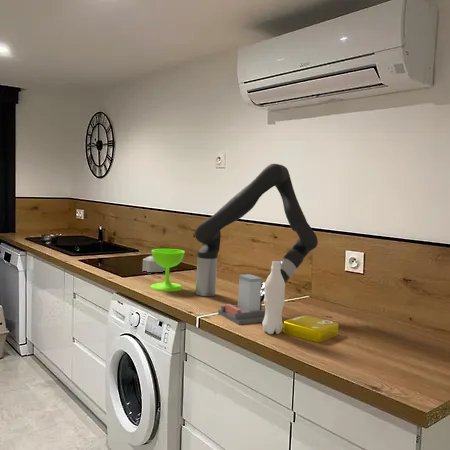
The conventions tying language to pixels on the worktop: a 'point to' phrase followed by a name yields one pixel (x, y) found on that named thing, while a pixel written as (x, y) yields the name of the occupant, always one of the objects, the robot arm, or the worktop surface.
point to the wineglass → (167, 267)
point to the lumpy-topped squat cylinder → (151, 265)
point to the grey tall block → (249, 293)
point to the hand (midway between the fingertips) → (255, 304)
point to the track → (241, 314)
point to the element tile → (311, 328)
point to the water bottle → (274, 300)
